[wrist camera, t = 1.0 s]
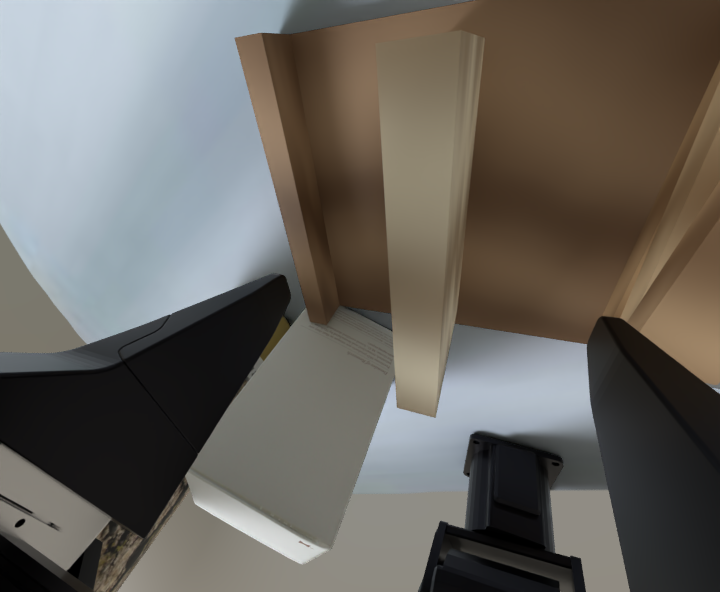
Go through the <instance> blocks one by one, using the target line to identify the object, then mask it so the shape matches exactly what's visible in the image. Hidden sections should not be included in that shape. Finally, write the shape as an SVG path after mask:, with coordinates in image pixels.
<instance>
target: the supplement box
mask: <svg viewBox="0 0 720 592" xmlns="http://www.w3.org/2000/svg"><path fill="white" fill-rule="evenodd" d="M394 376H395V366H394V349H393V332H392V331H391V330H389V329H387V328H385V327H383V326H381V325H379V324H377V323H375V322H373V321H371V320H369V319H367V318H365V317H364V316H362V315H360V314H358V313H356V312H354V311H352V310H350V309H348V308H346V307H344V306H339V307H338V309H337V310H336V312H335V313H334V315H333V316H332V318H331V319H330V321H329V322H328V324H327V325H324V324H318V323H313V322H310V320H309V317H308V313H307V309H306V308H305V309H304V310H303V312H302V313H301V314H300V315H299V317H298V318H297V319H296V321H295V322H294V323H293V324H292V326H291V327H290V328H289V330H288V331H287V332H286V333H285V335H284V336H283V337H282V339H281V340H280V341H279V342H278V344H277V345H276V346H275V347H274V349H273V350H272V351H271V353H270V354H269V355H268V356H267V358H266V359H265V360H264V362H263V363H262V364H261V366H260V367H259V368H258V369H257V371H256V372H255V373H254V375H253V376H252V377H251V378H250V380H249V381H248V382H247V384H246V385H245V386H244V387H243V389H242V390H241V391H240V393H239V394H238V395H237V396H236V398H235V399H234V400H233V402H232V403H231V404H230V405H229V407H228V408H227V410H226V411H225V413H224V415H223V416H222V418H221V419H220V421H219V423H218V424H217V426H216V427H215V429H214V431H213V432H212V434H211V435H210V437H209V438H208V440H207V442H206V443H205V445H204V446H203V448H202V450H201V451H200V453H199V454H198V456H197V458H196V459H195V461H194V463H193V464H192V466H191V467H190V469H189V471H188V472H187V474H186V475H185V477H186V480H187V482H188V485H189V488H190V491H191V493H192V496H193V500H194V503H195V504H196V505H198V506H199V507H201V508H203V509H204V510H206V511H208V512H209V513H211V514H212V515H214V516H216V517H218V518H219V519H221V520H223V521H224V522H226V523H228V524H230V525H231V526H233V527H235V528H237V529H238V530H240V531H242V532H244V533H245V534H247V535H249V536H250V537H252V538H255V539H256V540H258V541H259V542H261V543H263V544H265V545H267V546H268V547H270V548H272V549H274V550H275V551H277V552H279V553H281V554H283V555H284V556H286V557H288V558H290V559H292V560H294V561H296V562H298V563H300V564H305V563H307V562H308V561H310V560H312V559H314V558H316V557H318V556H320V555H321V554H323V553H325V552H327V551H329V550H331V549H332V547H333V545H334V542H335V539H336V536H337V533H338V530H339V528H340V525H341V522H342V519H343V517H344V514H345V511H346V508H347V506H348V503H349V500H350V498H351V495H352V492H353V489H354V487H355V484H356V481H357V478H358V476H359V473H360V470H361V467H362V464H363V462H364V459H365V456H366V454H367V451H368V448H369V445H370V442H371V439H372V437H373V434H374V431H375V428H376V426H377V423H378V420H379V417H380V415H381V412H382V409H383V406H384V404H385V401H386V398H387V395H388V392H389V390H390V387H391V384H392V381H393V379H394Z"/></svg>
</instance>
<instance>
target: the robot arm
mask: <svg viewBox="0 0 720 592" xmlns="http://www.w3.org/2000/svg"><path fill="white" fill-rule="evenodd" d="M290 299H291V294H290V290H289V287H288V283H287V280H286V277H285V276H284V275H281V274H270V275H268V276H265V277H263V278H260V279H258V280H255V281H253V282H250V283H248V284H245V285H243V286H240V287H238V288H235V289H233V290H230V291H228V292H225V293H223V294H220V295H218V296H215V297H213V298H210V299H207V300H205V301H202V302H200V303H197V304H195V305H192V306H190V307H187V308H185V309H182V310H180V311H177V312H175V313H172V314H171V315H167V316H165V317H162V318H160V319H157V320H154V321H152V322H149V323H147V324H144V325H141V326H139V327H136V328H133V329H130V330H127V331H125V332H122V333H119V334H116V335H113V336H110V337H107V338H105V339H102V340H99V341H96V342H93V343H90V344H87V345H84V346H81V347H79V348H76V349H72V350H68V351H63V352H57V353H46V354H45V353H42V354H41V353H12V352H9V353H8V352H0V592H95V591H93V590H94V585H95V580H96V575H97V570H98V565H99V560H100V555H101V550H102V545H103V542H102V541H100V540H98V539H97V538H96V537H97V536H98V534H99V533H100V532H101V531H102V530H103V529H104V527H105V526H106V525H107V524H108V523H109V521H110V520H111V521H113V522H115V523H116V524H118V525H120V526H122V527H123V528H125V529H127V530H129V531H130V532H132V533H134V534H135V535H137V536H139V537H141V538H142V539H145V538H146V536H147V535H148V534H149V532H150V531H151V529H152V528H153V526H154V525H155V523H156V522H157V520H158V518H159V517H160V515H161V514H162V512H163V510H164V509H165V507H166V506H167V504H168V502H169V501H170V499H171V498H172V496H173V494H174V493H175V491H176V490H177V488H178V487H179V485H180V483H181V482H182V480H183V479H184V477H185V475H186V474H187V472H188V471H189V469H190V467H191V466H192V464H193V463H194V461H195V459H196V458H197V456H198V454H199V453H200V451H201V450H202V448H203V446H204V445H205V443H206V442H207V440H208V438H209V437H210V435H211V434H212V432H213V431H214V429H215V427H216V426H217V424H218V423H219V421H220V419H221V418H222V416H223V415H224V413H225V411H226V410H227V408H228V407H229V405H230V403H231V402H232V400H233V399H234V397H235V396H236V394H237V392H238V391H239V389H240V388H241V386H242V384H243V383H244V381H245V380H246V378H247V376H248V375H249V373H250V372H251V370H252V368H253V367H254V365H255V364H256V362H257V361H258V359H259V357H260V356H261V354H262V353H263V351H264V349H265V348H266V346H267V345H268V343H269V341H270V340H271V338H272V336H273V334H274V333H275V331H276V329H277V327H278V325H279V323H280V320H281V318H282V316H283V314H284V312H285V310H286V308H287V306H288V304H289V302H290ZM587 359H588V374H589V390H590V402H591V408H592V414H593V418H594V423H595V428H596V432H597V437H598V442H599V447H600V451H601V456H602V461H603V466H604V470H605V475H606V480H607V484H608V489H609V494H610V498H611V503H612V508H613V513H614V517H615V522H616V527H617V532H618V536H619V541H620V546H621V550H622V555H623V559H624V564H625V569H626V574H627V579H628V584H629V588H630V592H720V394H719V393H717V392H716V391H715V390H714V389H712V388H711V387H710V386H708V385H707V384H706V383H705V382H703V381H702V380H701V379H699V378H698V377H697V376H696V375H694V374H693V373H692V372H690V371H689V370H688V369H687V368H685V367H684V366H683V365H681V364H680V363H679V362H677V361H676V360H675V359H674V358H672V357H671V356H670V355H668V354H667V353H666V352H665V351H663V350H662V349H661V348H659V347H658V346H657V345H656V344H654V343H653V342H652V341H650V340H649V339H648V338H647V337H645V336H644V335H643V334H641V333H640V332H639V331H638V330H636V329H635V328H634V327H632V326H631V325H630V324H629V323H627V322H626V321H625V320H623V319H621V318H617V317H609V316H601V317H599V319H598V320H597V322H596V324H595V326H594V328H593V331H592V333H591V335H590V337H589V340H588V343H587ZM562 468H563V459H562V458H561V457H559V456H556V455H553V454H549V453H545V452H541V451H538V450H534V449H530V448H526V447H523V446H519V445H515V444H511V443H508V442H504V441H500V440H497V439H493V438H489V437H485V436H482V435H478V434H472V435H470V439H469V445H468V450H467V455H466V460H465V465H464V472H463V473H464V475H466V476H468V477H470V478H469V489H468V499H467V511H466V521H465V529H464V528H459V527H456V526H452V525H449V524H448V523H447V522H443V521H440V523H439V527H438V529H437V531H436V533H435V536H434V540H433V543H432V547H431V552H430V555H429V559H428V562H427V566H426V570H425V574H424V577H423V580H422V583H421V585H420V587H419V590H418V592H560V591H561V592H586V590H585V583H584V577H583V570H582V564H581V558H577V557H574V556H570V557H567V556H563V555H560V554H556V553H555V545H554V535H553V534H554V533H553V522H552V512H551V499H550V488H551V487H552V485H553V483H554V482H555V480H556V478H557V476H558V475H559V473H560V471H561V470H562Z"/></svg>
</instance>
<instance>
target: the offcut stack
mask: <svg viewBox="0 0 720 592" xmlns="http://www.w3.org/2000/svg"><path fill="white" fill-rule="evenodd" d="M602 316H609V317H617V318H621V319H623V320H625V321H626V322H627V323H629V324H630V325H631V326H632V327H634V328H635V329H636V330H638V331H639V332H640V333H641V334H643V335H644V336H645V337H647V338H648V339H649V340H650V341H652V342H653V343H654V344H656V345H657V346H658V347H659V348H661V349H662V350H663V351H665V352H666V353H667V354H668V355H670V356H671V357H672V358H674V359H675V360H676V361H677V362H679V363H680V364H681V365H683V366H684V367H685V368H687V369H688V370H689V371H690V372H692V373H693V374H694V375H696V376H697V377H698V378H699V379H701V380H702V381H703V382H705V383H708V384H713V385H718V384H719V383H720V62H719V64H718V66H717V68H716V70H715V72H714V75H713V77H712V79H711V81H710V83H709V85H708V88H707V90H706V92H705V94H704V96H703V98H702V101H701V103H700V105H699V107H698V109H697V111H696V114H695V116H694V118H693V120H692V122H691V124H690V127H689V129H688V131H687V133H686V135H685V137H684V140H683V142H682V144H681V146H680V148H679V150H678V153H677V155H676V157H675V159H674V161H673V163H672V166H671V168H670V170H669V172H668V174H667V176H666V179H665V181H664V183H663V185H662V187H661V189H660V192H659V194H658V196H657V198H656V200H655V202H654V205H653V207H652V209H651V211H650V213H649V215H648V218H647V220H646V222H645V224H644V226H643V228H642V231H641V233H640V235H639V237H638V239H637V241H636V244H635V246H634V248H633V250H632V252H631V254H630V257H629V259H628V261H627V263H626V265H625V267H624V270H623V272H622V274H621V276H620V278H619V280H618V282H617V285H616V287H615V289H614V291H613V293H612V295H611V298H610V300H609V302H608V304H607V306H606V308H605V311H604V313H603V315H602Z"/></svg>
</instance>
